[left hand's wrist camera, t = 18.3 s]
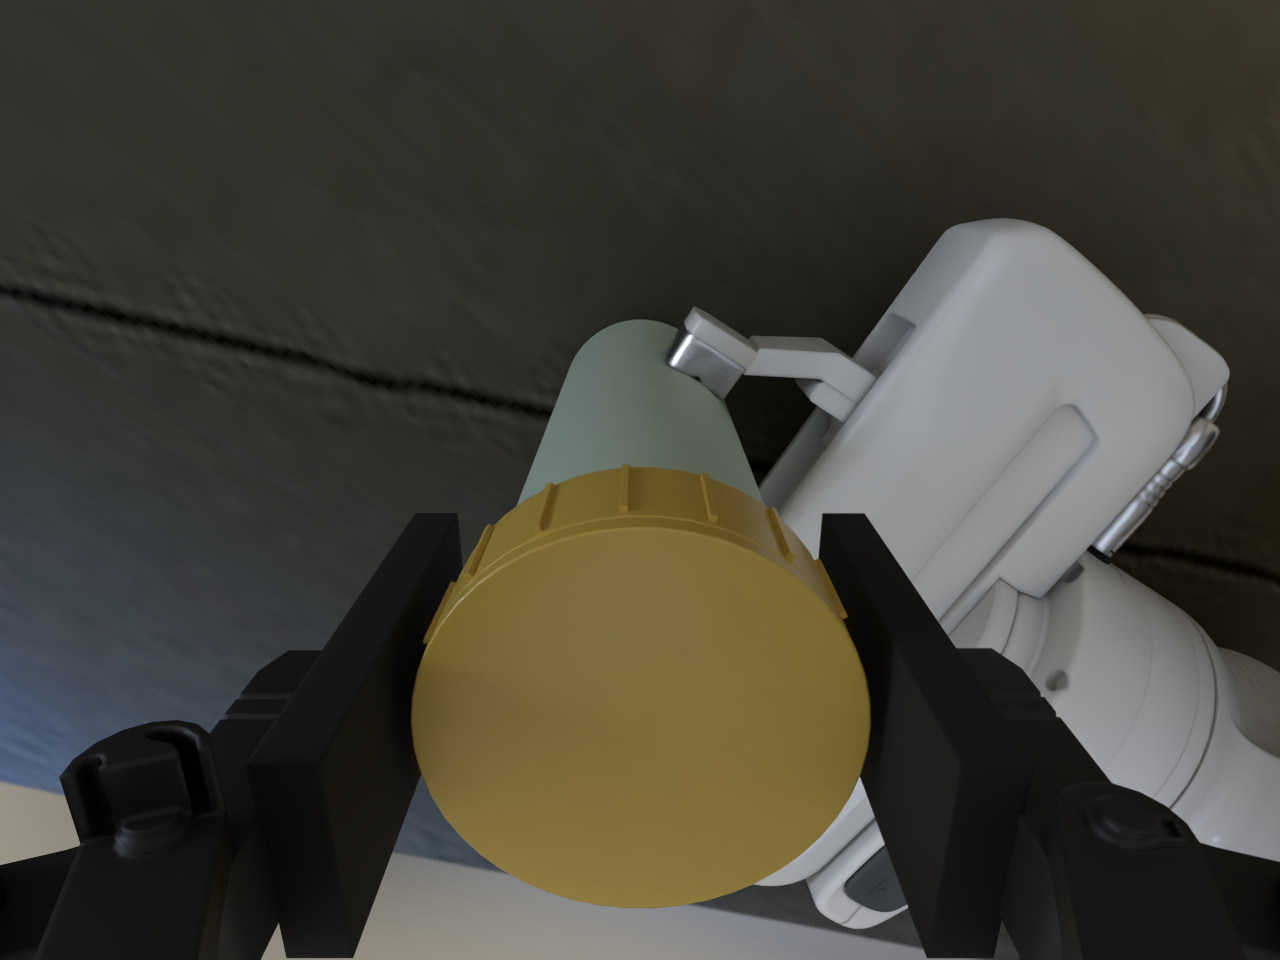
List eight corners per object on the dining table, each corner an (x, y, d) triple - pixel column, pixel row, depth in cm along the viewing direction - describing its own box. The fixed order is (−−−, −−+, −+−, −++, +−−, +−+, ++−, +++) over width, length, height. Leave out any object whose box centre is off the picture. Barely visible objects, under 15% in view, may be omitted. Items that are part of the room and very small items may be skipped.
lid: (623, 860, 14) (620, 976, 12) (360, 630, 12) (305, 718, 10) (914, 664, 13) (967, 758, 11) (660, 375, 11) (664, 419, 9)
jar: (550, 333, 27) (408, 571, 10) (704, 306, 26) (807, 506, 10) (581, 477, 28) (502, 871, 12) (725, 452, 28) (843, 825, 12)
